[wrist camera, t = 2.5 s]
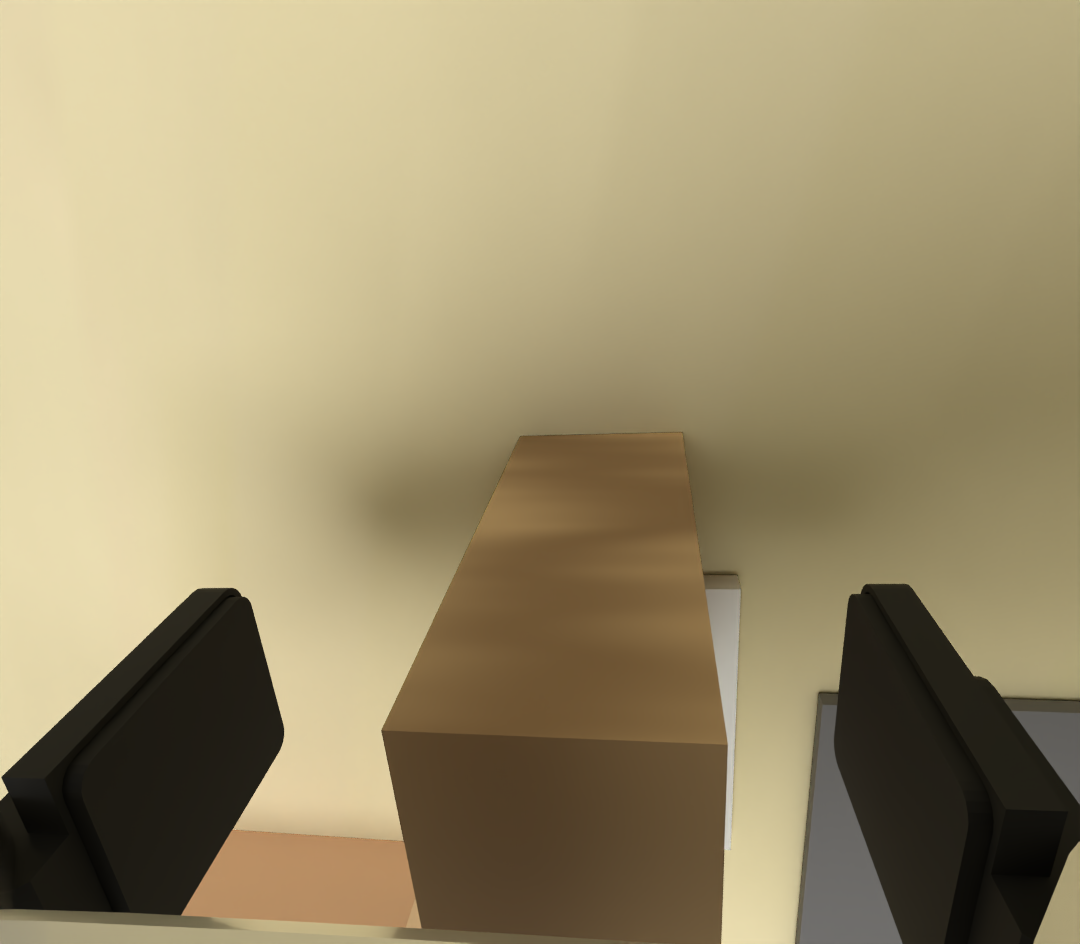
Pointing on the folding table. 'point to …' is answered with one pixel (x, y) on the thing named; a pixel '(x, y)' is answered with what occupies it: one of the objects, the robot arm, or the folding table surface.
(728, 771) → the block on white plate
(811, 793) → the mat
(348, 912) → the tile
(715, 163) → the folding table surface
